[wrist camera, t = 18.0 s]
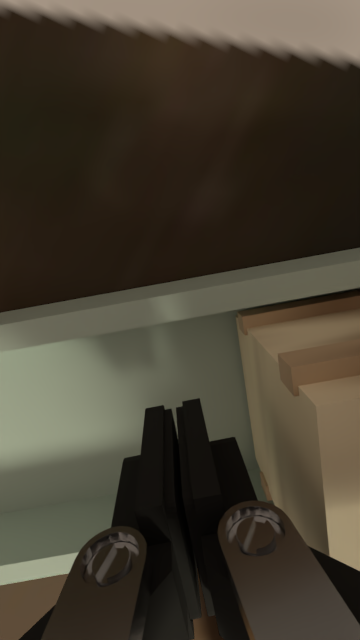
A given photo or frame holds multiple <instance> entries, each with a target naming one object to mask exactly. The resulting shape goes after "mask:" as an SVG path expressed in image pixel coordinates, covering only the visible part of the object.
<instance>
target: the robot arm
mask: <svg viewBox="0 0 360 640" xmlns="http://www.w3.org/2000/svg"><path fill="white" fill-rule="evenodd" d="M182 405H183V406H181V407H176V415H177V429H178V436H177V432H176V427H175V422H174V418H173V413H172V409H166V410H165V408H164V405H161V406H156V407H151V408H146V409H145V416H144V426H143V435H142V444H141V454H140V455H137V456H132V457H127V458H124V460H123V463H122V469H121V474H120V480H119V485H118V491H117V496H116V502H115V507H114V513H113V518H112V524H111V528H109V529H106V530H104V531H102V532H100V533H98V534H97V535H95V536H94V537H93V538H91V539H90V540H89V541H88V542H87V543H86V544H85V545H84V546H83V547H82V548H81V550H80V551H79V553H78V555H77V557H76V558H75V560H74V563H73V565H72V567H71V570H70V572H69V574H68V577H67V579H66V581H65V584H64V586H63V589H62V591H61V593H60V596H59V598H58V600H57V603H56V605H55V606H54V607H53V608H52V609H50V610H49V611H48V612H47V613H46V614H45V615H44V616H43V617H42V618H41V619H40V620H39V621H38V622H37V623H36V624H35V625H34V626H33V627H32V628H31V629H30V630H28V631H27V632H26V633H25V634H24V635H23V636H22V637H21V638H20V639H19V640H192V639H194V627H193V619H197V618H201V605H200V595H199V585H198V575H197V568H198V573H199V577H200V582H201V586H202V591H203V595H204V600H205V604H206V609H207V613H208V616H213V615H215V616H216V620H217V625H218V630H219V634H220V636H221V637H222V638H224V639H225V640H360V571H358V570H356V569H354V568H352V567H350V566H348V565H346V564H344V563H342V562H340V561H338V560H336V559H334V558H332V557H330V556H328V555H326V554H324V553H322V552H320V551H318V550H316V549H314V548H312V547H309V546H307V544H306V543H305V541H304V539H303V538H302V536H301V535H300V533H299V532H298V530H297V529H296V527H295V526H294V524H293V523H292V521H291V520H290V518H289V517H288V516H287V515H286V514H285V513H284V511H283V510H281V509H280V508H278V507H277V506H275V505H273V504H270V503H267V502H264V501H258V499H257V496H256V494H255V491H254V488H253V485H252V482H251V480H250V477H249V474H248V471H247V468H246V466H245V463H244V460H243V457H242V455H241V452H240V449H239V446H238V443H237V441H236V438H235V437H230V438H225V439H220V440H214V441H209V437H208V433H207V428H206V424H205V420H204V415H203V411H202V406H201V402H200V398H197V399H192V400H187V401H182ZM196 564H197V565H196Z"/></svg>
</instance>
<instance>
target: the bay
mask: <svg viewBox="0 0 360 640" xmlns="http://www.w3.org/2000/svg"><path fill="white" fill-rule="evenodd" d="M354 290H360V248H355V249H349V250H344V251H338V252H333V253H327V254H322V255H316V256H311V257H305V258H300V259H294V260H288V261H283V262H277V263H272V264H266V265H261V266H255V267H250V268H244V269H239V270H233V271H228V272H222V273H217V274H211V275H206V276H200V277H195V278H189V279H184V280H178V281H172V282H167V283H161V284H156V285H150V286H145V287H139V288H134V289H128V290H123V291H117V292H112V293H106V294H101V295H95V296H90V297H84V298H79V299H73V300H68V301H62V302H56V303H51V304H45V305H40V306H34V307H29V308H23V309H18V310H12V311H7V312H1V313H0V585H4V584H10V583H16V582H21V581H27V580H33V579H38V578H44V577H50V576H55V575H61V574H67V573H69V572H70V570H71V567H72V565H73V563H74V560H75V558H76V557H77V555H78V553H79V551H80V550H81V548H82V547H83V546H84V545H85V544H86V543H87V542H88V541H89V540H90V539H91V538H93V537H94V536H95V535H97V534H98V533H100V532H102V531H104V530H106V529H109V528H111V524H112V518H113V513H114V507H115V502H116V496H117V491H118V485H119V480H120V474H121V469H122V463H123V460H124V458H127V457H132V456H137V455H140V454H141V444H142V435H143V426H144V416H145V409H146V408H151V407H156V406H161V405H164V408H165V410H166V409H172V413H173V418H174V422H175V427H176V432H177V436H178V429H177V415H176V407H181V406H183V405H182V401H187V400H192V399H197V398H200V402H201V406H202V411H203V415H204V420H205V424H206V428H207V433H208V437H209V441H214V440H220V439H225V438H230V437H235V438H236V441H237V443H238V446H239V449H240V452H241V455H242V457H243V460H244V463H245V466H246V468H247V471H248V474H249V477H250V480H251V482H252V485H253V488H254V491H255V494H256V496H257V499H258V501H264V502H267V503H270V504H273V505H274V502H273V500H271V501H267V498H266V496H265V493H264V490H263V488H262V485H261V478H260V472H261V470H260V467H259V465H258V462H257V460H256V457H255V450H254V443H253V436H252V429H251V422H250V415H249V408H248V401H247V394H246V387H245V380H244V373H243V366H242V359H241V352H240V345H239V338H238V331H237V324H236V317H235V316H236V315H237V312H238V311H244V310H249V309H255V308H260V307H266V306H271V305H277V304H282V303H288V302H293V301H299V300H305V299H310V298H316V297H321V296H327V295H332V294H338V293H343V292H349V291H354Z"/></svg>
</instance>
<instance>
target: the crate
mask: <svg viewBox="0 0 360 640" xmlns="http://www.w3.org/2000/svg"><path fill="white" fill-rule="evenodd" d="M235 317H236V324H237V331H238V338H239V345H240V352H241V359H242V366H243V373H244V380H245V387H246V394H247V401H248V408H249V415H250V422H251V429H252V436H253V443H254V450H255V457H256V460H257V462H258V465H259V467H260V470H261V472H260V478H261V485H262V488H263V490H264V493H265V496H266V498H267V501H271V500H273V502H274V505H275V506H277V507H278V508H280V509H281V510H283V511H284V513H285V514H286V515H287V516H288V517H289V518H290V520H291V521H292V523H293V524H294V526H295V527H296V529H297V530H298V532H299V533H300V535H301V536H302V538H303V539H304V541H305V543H306V544H307V546H309V547H312V548H314V549H316V550H318V551H320V552H322V553H324V554H326V555H328V556H330V557H332V558H334V559H336V560H338V561H340V562H342V563H344V564H346V565H348V566H350V567H352V568H354V569H356V570H358V571H360V290H354V291H349V292H343V293H338V294H332V295H327V296H321V297H316V298H310V299H305V300H299V301H293V302H288V303H282V304H277V305H271V306H266V307H260V308H255V309H249V310H244V311H238V312H237V315H236V316H235Z"/></svg>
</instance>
